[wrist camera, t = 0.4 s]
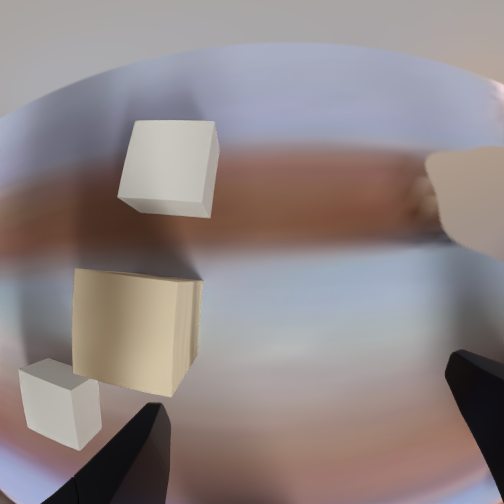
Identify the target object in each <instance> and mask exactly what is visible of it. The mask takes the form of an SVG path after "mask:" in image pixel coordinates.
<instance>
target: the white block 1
mask: <svg viewBox="0 0 504 504" xmlns="http://www.w3.org/2000/svg"><path fill="white" fill-rule="evenodd" d="M18 371H19V380H20V387H21V394H22V400H23V405H24V411H25V416H26V421H27V425H28V428H30V429H32V430H34V431H36V432H38V433H40V434H42V435H44V436H46V437H48V438H50V439H52V440H55V441H57V442H59V443H61V444H64V445H66V446H68V447H71V448H73V449H76V450H78V451H80V450H81V449H82V448H83V447H84V446H85V445H86V444H87V443H88V442H89V441H90V440H91V439H92V438H93V437H94V436H95V435H96V434H97V433H98V432H99V431H100V430H101V429H102V423H101V413H100V402H99V386H98V381H97V380H94V379H90V378H87V377H84V376H80V375H77V374H74V373H73V366H71V365H67V364H64V363H61V362H58V361H55V360H53V359H50V358H47V359H44V360H42V361H39V362H36V363H34V364H31V365H28V366H26V367H23V368H20V369H18Z"/></svg>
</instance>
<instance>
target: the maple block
mask: <svg viewBox="0 0 504 504" xmlns="http://www.w3.org/2000/svg"><path fill="white" fill-rule="evenodd" d="M202 291H203V281H200V280H191V279H182V278H173V277H164V276H156V275H148V274H140V273H132V272H117V271H103V270H90V269H78V268H75V274H74V287H73V305H72V360H73V373H74V374H77V375H80V376H84V377H87V378H90V379H94V380H97V381H101V382H104V383H108V384H112V385H116V386H120V387H124V388H128V389H132V390H137V391H141V392H146V393H151V394H156V395H161V396H167V397H172V396H173V394H174V393H175V391H176V389H177V388H178V386H179V384H180V383H181V381H182V379H183V378H184V376H185V375H186V373H187V371H188V370H189V368H190V366H191V365H192V363H193V361H194V360H195V358H196V356H197V355H198V340H199V327H200V314H201V302H202Z"/></svg>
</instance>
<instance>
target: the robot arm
mask: <svg viewBox="0 0 504 504" xmlns="http://www.w3.org/2000/svg"><path fill="white" fill-rule="evenodd" d="M445 378H446V380H447V383H448V385H449V387H450V389H451V391H452V394H453V396H454V398H455V401H456V403H457V405H458V407H459V410H460V412H461V414H462V416H463V418H464V419H465V421H466V423H467V425H468V427H469V429H470V431H471V433H472V434H473V436H474V438H475V440H476V442H477V444H478V446H479V448H480V450H481V452H482V454H483V456H484V459H485V461H486V463H487V465H488V467H489V469H490V471H491V474H492V476H493V478H494V480H495V483H496V485H497V488H498V490H499V492H500V495H501V498H502V500H503V503H504V364H502V363H499V362H496V361H494V360H491V359H488V358H485V357H482V356H480V355H477V354H474V353H471V352H468V351H466V350H463V349H461V350H458V351H455V352H453V353H452V354H451V355H450V358H449V361H448V364H447V367H446V370H445ZM170 438H171V424H170V420H169V417H168V415H167V413H166V410H165V408H164V405H163V404H162V403H158V402H149V403H147V404H146V405H145V406H144V407H143V408H142V409H141V410H140V411H139V412H138V413H137V414H136V415H135V416H134V417H133V418H132V419H131V420H130V421H129V422H128V423H127V424H126V425H125V426H124V427H123V428H122V429H121V430H120V431H119V432H118V433H117V434H116V435H115V436H114V437H113V438H112V439H111V440H110V441H109V442H108V443H107V444H106V445H105V446H104V447H103V448H102V449H101V450H100V451H99V452H98V453H97V454H96V455H95V456H94V457H93V458H92V459H91V460H90V461H89V462H88V463H86V464H85V465H84V466H83V467H82V468H81V469H80V470H79V471H78V472H77V473H76V474H75V475H74V477H72V478H71V479H70V480H69V481H67V482H66V483H65V484H64V485H63V486H62V487H61V488H60V489H59V490H57V491H56V492H55V493H54V494H53V495H51V496H50V497H49V498H47V499H46V500H45V501H43V502H42V503H41V504H165V501H166V494H167V487H168V480H169V472H170Z"/></svg>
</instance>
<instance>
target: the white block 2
mask: <svg viewBox="0 0 504 504" xmlns="http://www.w3.org/2000/svg"><path fill="white" fill-rule="evenodd" d="M219 151H220V149H219V144H218V138H217V132H216V126H215V121H193V120H142V121H135V125H134V128H133V132H132V135H131V139H130V143H129V147H128V151H127V155H126V159H125V163H124V168H123V172H122V177H121V181H120V186H119V191H118V196H117V197H118V198H119V199H121V200H122V201H124V202H125V203H127V204H128V205H130V206H131V207H133V208H134V209H136V210H137V211H139V212H140V213H152V214H165V215H178V216H190V217H202V218H210V217H211V209H212V201H213V193H214V186H215V178H216V171H217V164H218V157H219Z"/></svg>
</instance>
